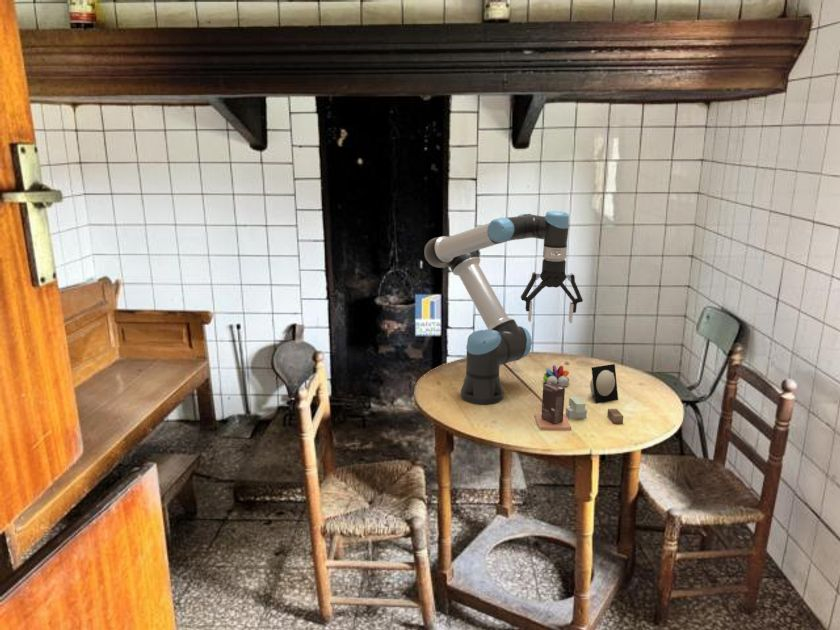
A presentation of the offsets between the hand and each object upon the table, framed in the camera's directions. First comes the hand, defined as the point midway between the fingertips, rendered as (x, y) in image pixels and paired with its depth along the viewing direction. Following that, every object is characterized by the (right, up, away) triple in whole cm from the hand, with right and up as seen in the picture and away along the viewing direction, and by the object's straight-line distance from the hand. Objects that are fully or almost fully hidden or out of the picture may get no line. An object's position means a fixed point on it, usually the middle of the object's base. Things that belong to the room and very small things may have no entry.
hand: (549, 321), depth 215 cm
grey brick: (+8, -32, -3) cm, 33 cm away
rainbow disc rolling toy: (+7, -24, +26) cm, 36 cm away
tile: (-1, -33, -9) cm, 34 cm away
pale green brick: (+8, -29, -4) cm, 30 cm away
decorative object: (+20, -28, +12) cm, 36 cm away
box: (-1, -32, -9) cm, 33 cm away
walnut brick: (+20, -33, -6) cm, 39 cm away
